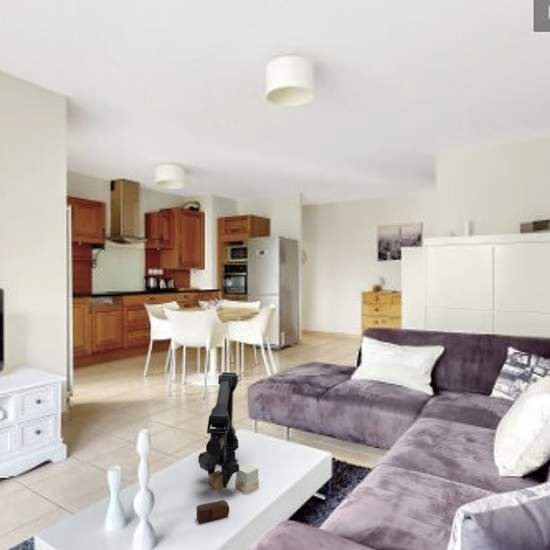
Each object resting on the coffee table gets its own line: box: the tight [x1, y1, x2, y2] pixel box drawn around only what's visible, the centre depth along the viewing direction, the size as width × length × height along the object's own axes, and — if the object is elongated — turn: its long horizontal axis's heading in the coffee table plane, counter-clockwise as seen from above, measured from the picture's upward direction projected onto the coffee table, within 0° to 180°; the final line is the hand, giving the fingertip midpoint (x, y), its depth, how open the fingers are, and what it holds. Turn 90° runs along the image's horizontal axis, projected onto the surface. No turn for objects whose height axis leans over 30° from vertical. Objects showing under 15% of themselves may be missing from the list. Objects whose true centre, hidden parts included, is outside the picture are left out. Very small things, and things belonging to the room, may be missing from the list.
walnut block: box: [208, 469, 225, 492], centre depth 163 cm, size 5×5×5 cm
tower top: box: [235, 463, 259, 484], centre depth 162 cm, size 6×6×4 cm
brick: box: [196, 499, 230, 525], centre depth 143 cm, size 11×4×5 cm, turn 116°
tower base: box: [234, 478, 260, 495], centre depth 162 cm, size 6×6×4 cm
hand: (218, 483), depth 163 cm, fingers open, 8 cm apart
